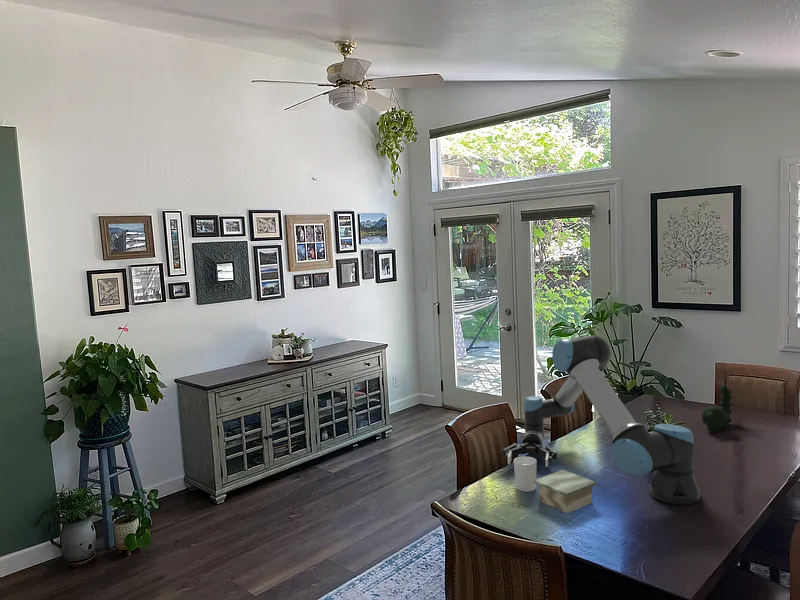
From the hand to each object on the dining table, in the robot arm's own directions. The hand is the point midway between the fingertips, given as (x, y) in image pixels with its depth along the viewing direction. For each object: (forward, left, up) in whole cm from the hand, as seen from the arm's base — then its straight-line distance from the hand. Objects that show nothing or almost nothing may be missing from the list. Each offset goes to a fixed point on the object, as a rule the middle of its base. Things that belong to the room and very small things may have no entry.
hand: (527, 462), depth 214 cm
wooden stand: (-22, +5, -6) cm, 23 cm away
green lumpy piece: (-14, -101, -6) cm, 102 cm away
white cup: (-6, +7, -6) cm, 11 cm away
